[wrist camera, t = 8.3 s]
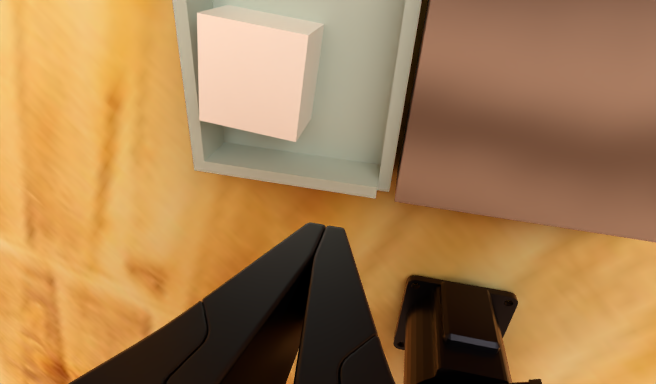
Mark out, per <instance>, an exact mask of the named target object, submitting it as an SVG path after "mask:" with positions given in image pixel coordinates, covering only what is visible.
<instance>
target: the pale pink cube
mask: <svg viewBox="0 0 656 384" xmlns="http://www.w3.org/2000/svg"><path fill="white" fill-rule="evenodd" d="M323 30H324V24H322V23H317V22H312V21H307V20H302V19H297V18H292V17H287V16H282V15H277V14H272V13H267V12H262V11H257V10H252V9H247V8H242V7H237V6H232V5H225V6H221V7H217V8H213V9H209V10H205V11H201V12H197V42H198V84H199V120H200V121H205V122H209V123H213V124H218V125H222V126H227V127H231V128H235V129H240V130H244V131H249V132H253V133H257V134H262V135H266V136H271V137H275V138H280V139H284V140H288V141H293V142H296V141H297V140H298V138H299V137H300V135H301V133H302V132H303V130H304V129H305V127H306V126H307V124H308V123H309V121H310V120H311V117H312V110H313V102H314V95H315V88H316V81H317V73H318V66H319V59H320V52H321V44H322V37H323Z"/></svg>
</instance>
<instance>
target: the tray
mask: <svg viewBox="0 0 656 384" xmlns="http://www.w3.org/2000/svg"><path fill="white" fill-rule="evenodd" d="M172 1H173V9H174V17H175V24H176V32H177V40H178V47H179V55H180V63H181V71H182V78H183V86H184V94H185V102H186V109H187V117H188V125H189V133H190V140H191V148H192V156H193V164H194V170H195V171H202V172H208V173H215V174H221V175H228V176H234V177H240V178H247V179H253V180H260V181H266V182H272V183H279V184H285V185H292V186H298V187H305V188H311V189H317V190H324V191H330V192H337V193H343V194H349V195H356V196H362V197H369V198H375V199H376V193H377V190H379V191H386V192H389V190H390V185H391V179H392V173H393V167H394V161H395V155H396V149H397V143H398V137H399V132H400V126H401V120H402V114H403V108H404V102H405V96H406V90H407V84H408V79H409V73H410V67H411V61H412V55H413V49H414V43H415V37H416V31H417V26H418V20H419V14H420V8H421V2H422V0H172ZM225 5H232V6H237V7H242V8H247V9H252V10H257V11H262V12H267V13H272V14H277V15H282V16H287V17H292V18H297V19H302V20H307V21H312V22H317V23H322V24H324V30H323V37H322V44H321V52H320V59H319V66H318V73H317V81H316V88H315V95H314V102H313V110H312V117H311V120H310V121H309V123H308V124H307V126H306V127H305V129H304V130H303V132H302V133H301V135H300V137H299V138H298V140H297V141H296V142H293V141H288V140H284V139H280V138H275V137H271V136H266V135H262V134H257V133H253V132H249V131H244V130H240V129H235V128H231V127H227V126H222V125H218V124H213V123H209V122H205V121H200V120H199V84H198V42H197V12H201V11H205V10H209V9H213V8H217V7H221V6H225Z"/></svg>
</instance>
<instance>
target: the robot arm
mask: <svg viewBox="0 0 656 384" xmlns="http://www.w3.org/2000/svg"><path fill="white" fill-rule="evenodd" d="M413 283H417V285H414V284H413ZM507 300H511V301H507ZM517 305H518V301H517V297H516V295H515V294H513V293H511V292H506V291H500V290H494V289H489V288H483V287H478V286H472V285H466V284H461V283H455V282H450V281H444V280H439V279H433V278H427V277H422V276H410V277H409V278H408V280H407V283H406V288H405V292H404V297H403V301H402V305H401V310H400V314H399V318H398V323H397V327H396V331H395V336H394V346H395V347H396V348H398V349H401V350H405V357H404V384H542V382H541V379H533V380H529V382H517V383H512V380H511V375H510V371H509V366H508V362H507V357H506V353H505V348H504V344H503V339H502V338H503V336H504V334H505V332H506V330H507V327H508V325H509V323H510V321H511V318H512V316H513V314H514V312H515V309H516V307H517ZM298 349H299V352H298ZM297 352H298V358H297V365H296V371H295V378H294V384H395V382H394V379H393V377H392V374H391V372H390V369H389V366H388V363H387V360H386V358H385V355H384V352H383V349H382V346H381V342H380V339H379V337H378V334H377V330H376V327H375V324H374V321H373V318H372V314H371V311H370V308H369V305H368V302H367V299H366V295H365V292H364V289H363V286H362V283H361V280H360V276H359V273H358V270H357V267H356V264H355V260H354V257H353V254H352V251H351V248H350V245H349V241H348V238H347V235H346V232H345V230H344V228H341V227H334V226H327V227H325V225H322V224H316V223H307V224H305V225H304V226H303V227H301V228H300V229H299V230H297V231H296V232H294V233H293V234H292V235H290V236H289V237H288V238H286V239H285V240H283V241H282V242H281V243H279V244H278V245H276V246H275V247H274V248H272V249H271V250H270V251H268V252H267V253H265V254H264V255H263V256H261V257H260V258H259V259H257V260H256V261H254V262H253V263H252V264H250V265H249V266H247V267H246V268H245V269H243V270H242V271H241V272H239V273H238V274H236V275H235V276H234V277H232V278H231V279H230V280H228V281H227V282H225V283H224V284H223V285H221V286H220V287H219V288H217V289H216V290H214V291H213V292H212V293H210V294H209V295H207V296H206V297H205V298H203V300H202V301H199V302H198V303H196V304H195V305H193V306H192V307H191V308H189V309H188V310H187V311H185V312H184V313H182V314H181V315H179V316H178V317H176V318H175V319H173V320H172V321H171V322H169V323H168V324H166V325H165V326H163V327H162V328H160V329H159V330H157V331H155V332H154V333H152V334H151V335H149V336H147V337H146V338H144V339H142V340H141V341H139V342H138V343H136V344H134V345H133V346H131V347H129V348H128V349H126V350H124V351H123V352H121V353H119V354H118V355H116V356H114V357H112V358H111V359H109V360H107V361H106V362H104V363H102V364H101V365H99V366H97V367H96V368H94V369H92V370H91V371H89V372H87V373H86V374H84V375H82V376H80V377H79V378H77V379H75V380H74V381H72V382H70V383H69V384H286V381H287V379H288V376H289V373H290V371H291V368H292V365H293V363H294V360H295V357H296V355H297Z"/></svg>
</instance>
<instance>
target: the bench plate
mask: <svg viewBox="0 0 656 384" xmlns="http://www.w3.org/2000/svg"><path fill="white" fill-rule="evenodd" d="M395 202H401V203H407V204H414V205H420V206H426V207H433V208H439V209H446V210H452V211H458V212H465V213H471V214H478V215H484V216H490V217H497V218H503V219H510V220H516V221H523V222H529V223H535V224H542V225H548V226H555V227H561V228H567V229H574V230H580V231H587V232H593V233H600V234H606V235H612V236H619V237H625V238H632V239H638V240H644V241H651V242H656V0H428V1H427V7H426V13H425V18H424V24H423V30H422V35H421V41H420V47H419V52H418V58H417V64H416V69H415V75H414V81H413V86H412V92H411V98H410V103H409V109H408V114H407V120H406V126H405V131H404V137H403V143H402V148H401V154H400V160H399V165H398V171H397V181H396V191H395Z"/></svg>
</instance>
